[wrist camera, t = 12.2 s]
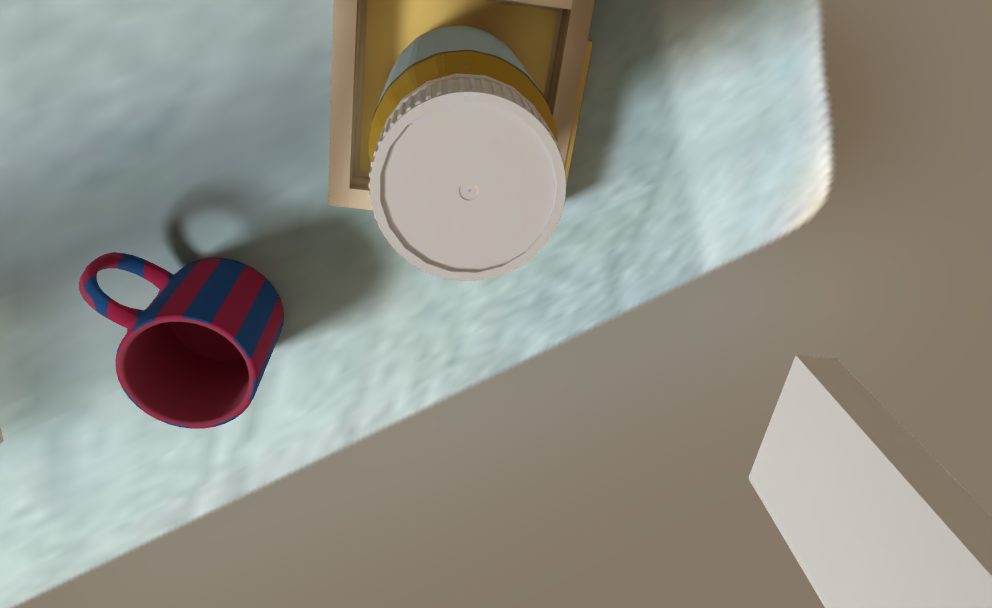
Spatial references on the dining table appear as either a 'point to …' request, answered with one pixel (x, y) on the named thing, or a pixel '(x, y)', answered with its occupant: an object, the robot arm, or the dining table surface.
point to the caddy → (417, 10)
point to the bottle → (464, 157)
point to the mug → (192, 337)
